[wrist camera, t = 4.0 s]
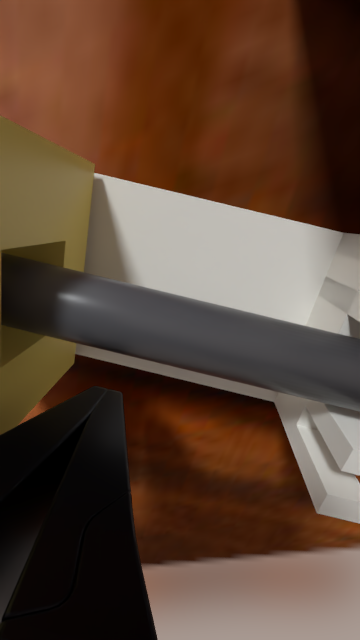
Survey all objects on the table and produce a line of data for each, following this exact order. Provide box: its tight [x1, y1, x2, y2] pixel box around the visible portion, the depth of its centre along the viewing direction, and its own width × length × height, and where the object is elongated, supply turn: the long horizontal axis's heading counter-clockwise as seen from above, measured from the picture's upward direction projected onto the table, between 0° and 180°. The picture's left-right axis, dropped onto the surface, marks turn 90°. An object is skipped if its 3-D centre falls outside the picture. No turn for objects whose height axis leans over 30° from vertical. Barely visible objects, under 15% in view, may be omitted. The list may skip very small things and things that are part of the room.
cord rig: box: [1, 173, 360, 523], centre depth 7 cm, size 16×6×5 cm, turn 77°
